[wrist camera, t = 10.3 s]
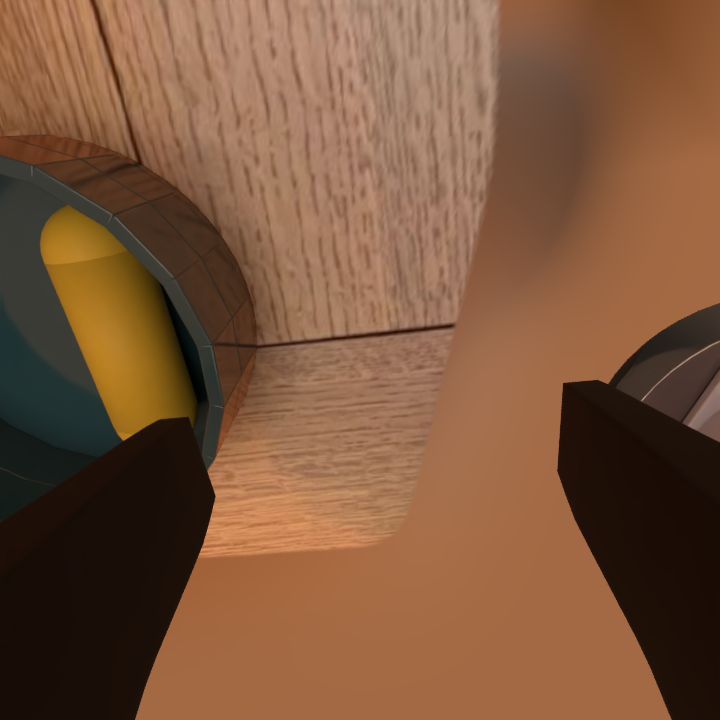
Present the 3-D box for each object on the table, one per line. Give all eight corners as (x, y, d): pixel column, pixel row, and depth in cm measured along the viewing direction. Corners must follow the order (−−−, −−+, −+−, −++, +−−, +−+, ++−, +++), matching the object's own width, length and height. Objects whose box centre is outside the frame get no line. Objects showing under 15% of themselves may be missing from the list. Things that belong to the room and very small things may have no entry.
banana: (139, 429, 21) (212, 415, 21) (116, 475, 18) (200, 459, 19) (41, 181, 17) (135, 168, 17) (-10, 191, 14) (104, 175, 14)
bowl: (288, 201, 18) (256, 229, 13) (229, 487, 24) (194, 572, 19) (-118, 81, 16) (-306, 67, 12) (-68, 416, 22) (-180, 490, 18)
